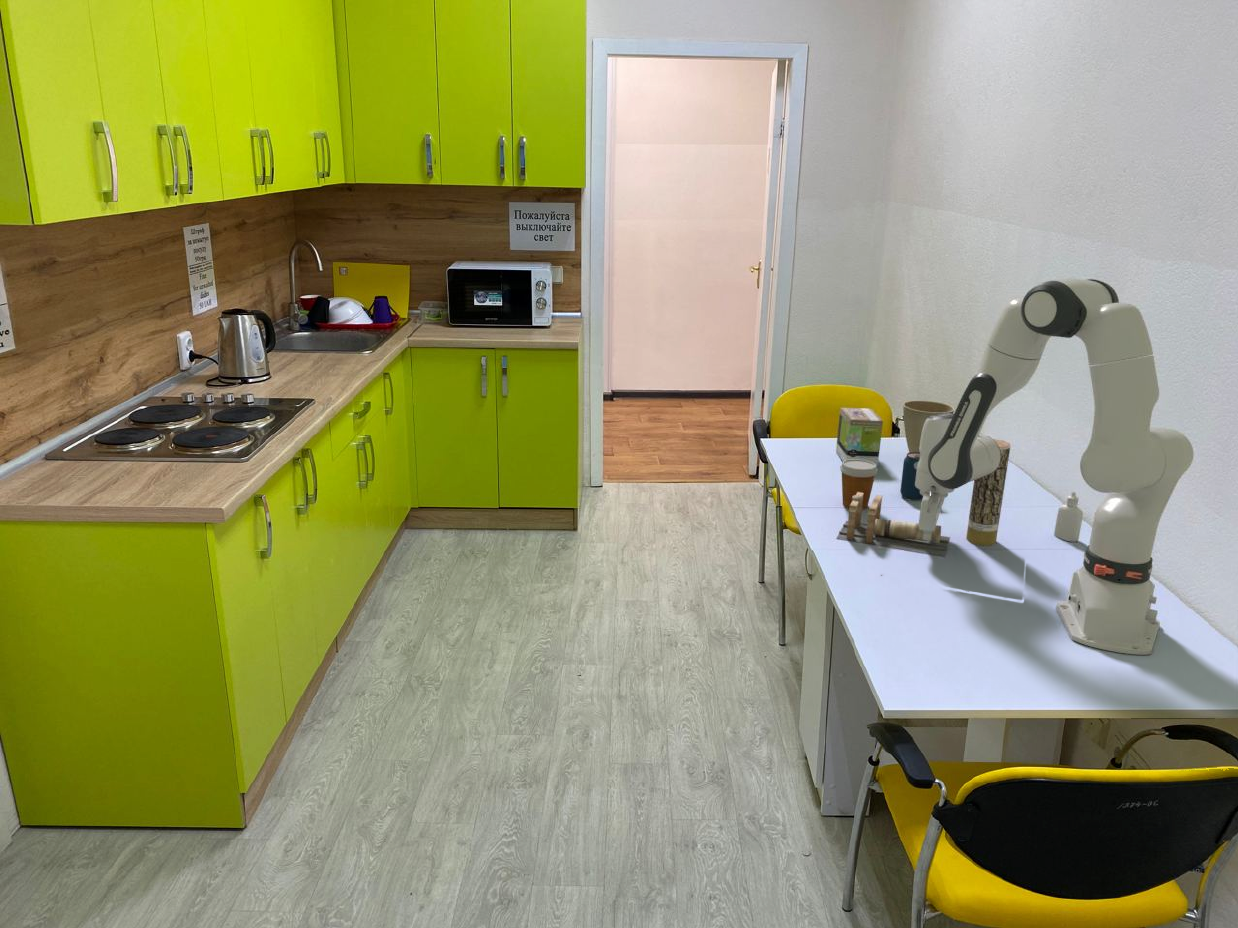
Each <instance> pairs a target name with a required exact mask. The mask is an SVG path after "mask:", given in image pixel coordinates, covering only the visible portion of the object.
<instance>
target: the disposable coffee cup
mask: <svg viewBox="0 0 1238 928" xmlns="http://www.w3.org/2000/svg"><path fill="white" fill-rule="evenodd" d="M839 470H840V471H841V490H842V491H841V493H842V506H843V507H845V508H847V509H849V508H850V504H851V503H852V501H853V499H852V496H854V495H856V494H857V492H861V493H864V495H863V505H862V510H865V509H867V508H868V506H869V502H870V497H871V494H872V490H873V485H874V481H875V476H876V475H877V473H878V468H877V467H876V464H875V463H873V462H870V461H867V460H861V459H849V460H845V461H842V463H841V465H840V466H839Z"/></svg>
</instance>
